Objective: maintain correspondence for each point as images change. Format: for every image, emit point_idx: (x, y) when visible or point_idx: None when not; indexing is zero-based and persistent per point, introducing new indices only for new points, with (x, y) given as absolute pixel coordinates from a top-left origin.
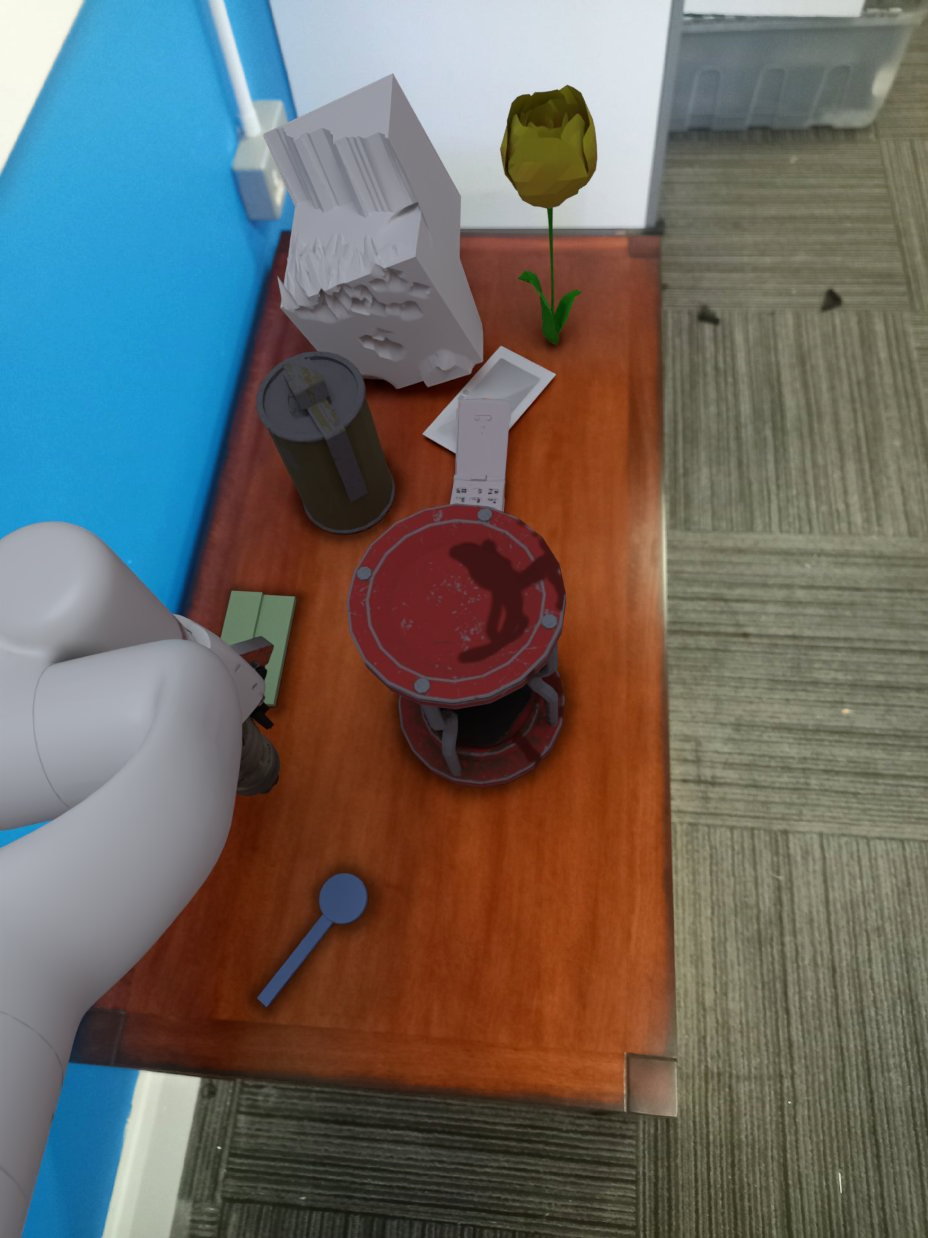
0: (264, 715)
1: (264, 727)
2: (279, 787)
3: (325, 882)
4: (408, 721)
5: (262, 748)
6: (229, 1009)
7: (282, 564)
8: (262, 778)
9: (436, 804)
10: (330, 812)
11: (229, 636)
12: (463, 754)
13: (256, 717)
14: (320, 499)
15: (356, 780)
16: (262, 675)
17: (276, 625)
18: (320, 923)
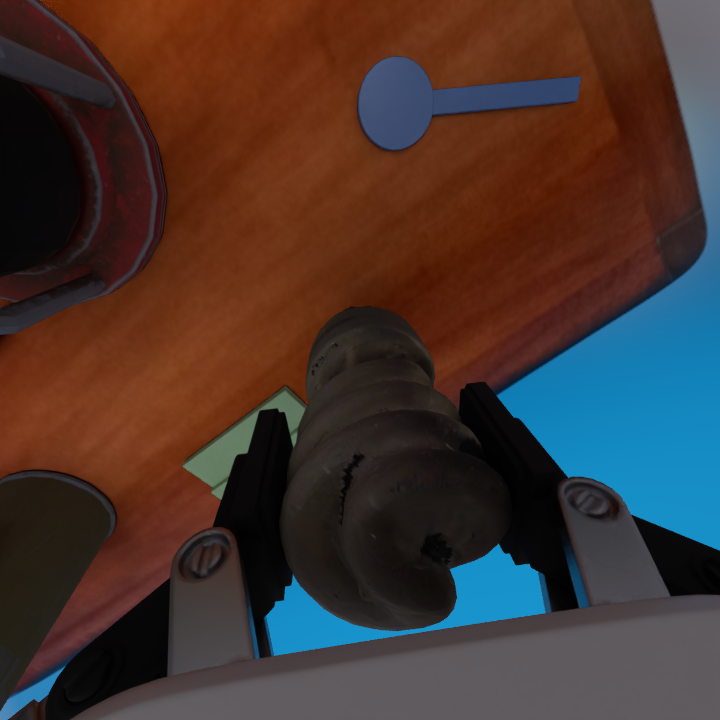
0: (245, 472)
1: (283, 424)
2: (348, 307)
3: (396, 149)
4: (135, 237)
5: (324, 386)
6: (601, 127)
7: (175, 496)
8: (371, 328)
9: (184, 97)
10: (322, 229)
11: None
12: (64, 100)
13: (265, 492)
14: (44, 560)
15: (264, 235)
16: (73, 696)
17: (221, 455)
18: (444, 105)
